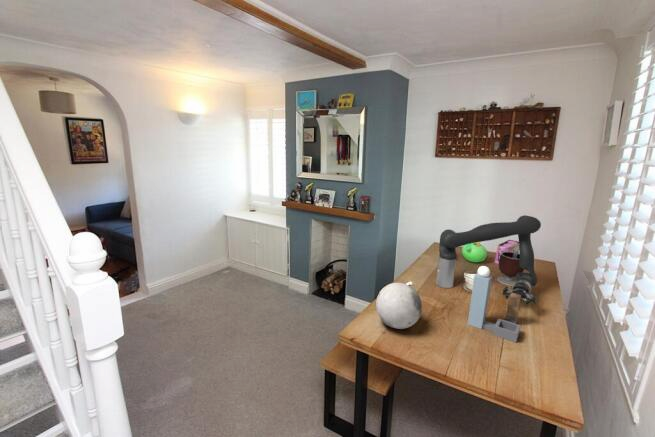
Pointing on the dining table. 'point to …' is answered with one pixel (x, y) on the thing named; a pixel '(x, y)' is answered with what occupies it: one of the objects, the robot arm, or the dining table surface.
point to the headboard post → (480, 308)
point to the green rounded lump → (474, 252)
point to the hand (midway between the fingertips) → (517, 299)
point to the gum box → (506, 248)
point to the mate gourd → (509, 267)
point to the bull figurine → (410, 284)
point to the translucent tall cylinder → (513, 308)
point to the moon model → (398, 305)
